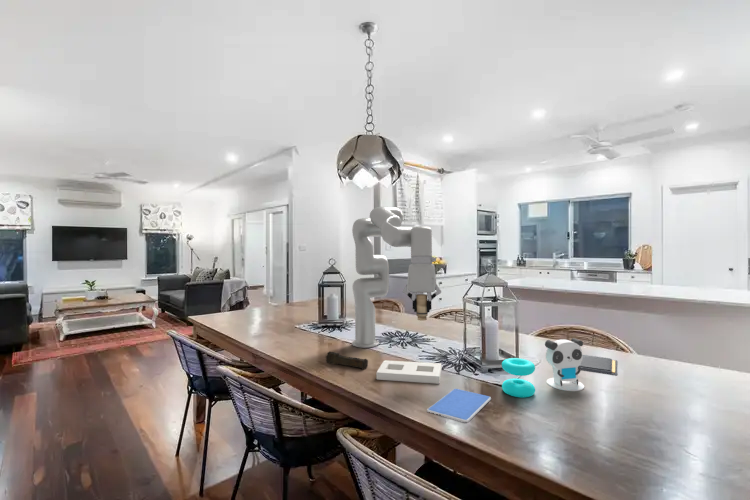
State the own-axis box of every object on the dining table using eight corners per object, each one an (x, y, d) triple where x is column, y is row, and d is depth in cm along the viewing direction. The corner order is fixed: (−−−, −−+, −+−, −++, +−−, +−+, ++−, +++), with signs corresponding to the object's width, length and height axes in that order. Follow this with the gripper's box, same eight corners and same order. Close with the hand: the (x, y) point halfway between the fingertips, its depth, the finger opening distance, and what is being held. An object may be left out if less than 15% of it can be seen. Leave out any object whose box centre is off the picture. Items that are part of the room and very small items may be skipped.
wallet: (576, 352, 160) (619, 358, 152) (576, 356, 160) (619, 362, 152) (569, 365, 144) (617, 372, 135) (569, 370, 144) (617, 377, 135)
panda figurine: (558, 392, 121) (558, 345, 121) (538, 379, 133) (537, 336, 132) (592, 389, 123) (592, 343, 123) (569, 377, 134) (569, 335, 134)
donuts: (502, 355, 128) (534, 358, 124) (502, 385, 128) (534, 388, 125) (501, 364, 119) (535, 368, 115) (501, 396, 119) (536, 400, 115)
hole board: (384, 366, 149) (384, 360, 148) (441, 370, 144) (441, 363, 144) (376, 379, 135) (376, 372, 135) (439, 383, 130) (439, 376, 130)
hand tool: (368, 368, 148) (368, 356, 148) (363, 371, 145) (363, 358, 144) (330, 360, 158) (330, 349, 158) (324, 363, 155) (324, 351, 154)
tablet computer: (467, 425, 102) (467, 420, 101) (425, 413, 109) (425, 408, 109) (492, 400, 117) (492, 396, 117) (454, 391, 125) (454, 387, 125)
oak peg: (417, 318, 140) (416, 293, 140) (428, 318, 139) (428, 294, 139) (415, 320, 136) (415, 295, 136) (427, 321, 135) (426, 295, 135)
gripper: (445, 260, 139) (446, 310, 139) (400, 260, 143) (400, 309, 143) (444, 261, 132) (445, 314, 132) (396, 261, 136) (397, 312, 136)
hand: (422, 311), depth 138 cm, fingers closed on oak peg, 4 cm apart
